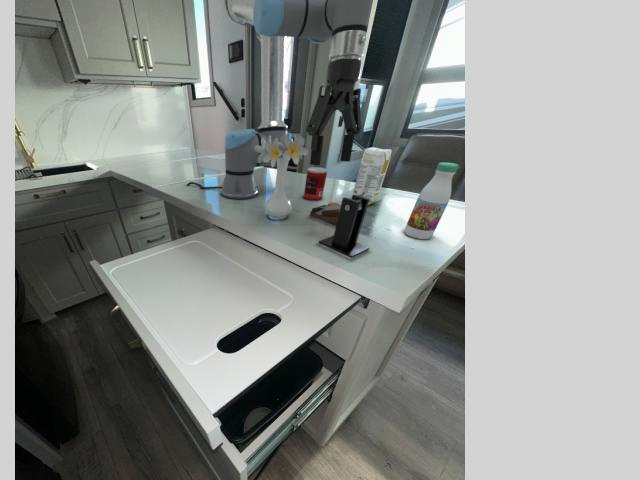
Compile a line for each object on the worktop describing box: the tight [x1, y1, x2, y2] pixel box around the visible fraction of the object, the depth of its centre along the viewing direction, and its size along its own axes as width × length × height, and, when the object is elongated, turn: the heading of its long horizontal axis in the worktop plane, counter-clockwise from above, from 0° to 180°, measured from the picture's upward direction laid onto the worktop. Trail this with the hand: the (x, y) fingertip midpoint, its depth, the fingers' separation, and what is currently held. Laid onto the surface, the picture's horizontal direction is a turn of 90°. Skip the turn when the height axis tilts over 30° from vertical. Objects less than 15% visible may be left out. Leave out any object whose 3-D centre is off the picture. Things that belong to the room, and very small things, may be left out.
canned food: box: [303, 166, 328, 201], centre depth 108 cm, size 8×8×11 cm
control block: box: [309, 204, 340, 227], centre depth 91 cm, size 11×9×4 cm
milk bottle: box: [403, 162, 459, 240], centre depth 77 cm, size 8×8×20 cm
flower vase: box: [254, 133, 309, 221], centre depth 86 cm, size 13×18×25 cm
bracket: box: [318, 194, 370, 259], centre depth 71 cm, size 11×8×14 cm
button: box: [327, 201, 340, 210], centre depth 89 cm, size 4×4×2 cm
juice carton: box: [352, 146, 393, 206], centre depth 101 cm, size 8×9×19 cm
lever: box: [311, 199, 362, 213], centre depth 72 cm, size 13×5×2 cm, turn 37°
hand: (330, 163), depth 73 cm, fingers open, 13 cm apart
